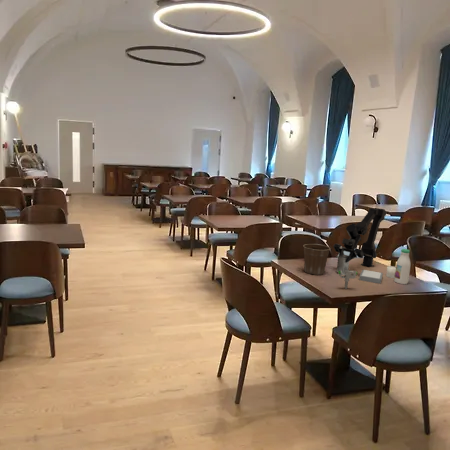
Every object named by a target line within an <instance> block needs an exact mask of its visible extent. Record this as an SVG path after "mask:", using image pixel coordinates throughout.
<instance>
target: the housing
mask: <svg viewBox="0 0 450 450" xmlns="http://www.w3.org/2000/svg"><path fill="white" fill-rule="evenodd" d="M348 256H349V254H345V253H344V254H343V255H340V256H339V255H338V257H337V262H336V263H337V266H336V272H338V271H342V273H344V272H345V270H349V266H350V261H348V262H347V263H346V262H345V261H346V259H347V258H348Z"/></svg>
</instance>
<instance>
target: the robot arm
mask: <svg viewBox="0 0 450 450" xmlns="http://www.w3.org/2000/svg"><path fill="white" fill-rule="evenodd" d="M386 216H387V211H386V210H385V209H384V208H379V207H373V208H372V207H371V208H369V209H368V212H367V213H366V214H365V216H364V217H363V218H362V220H361V221H359V222H358V223H351V224H349V225H347V226H346V232H347V234H348V236H349V238H344V237H343V239H342V242H341V244H343V246H342V245H341V244H339V243H334V244H333V246H332V247H333V249H334V252H337V253H338V257H339V256H340V255H343V254H344V255H345V253H344V252H347V253H349V254H348V258H347V259H346V261H345V262H346V263H347V262H348V261H349V262H350V261H352V260H353V259H355V258H359V259H363V260H362V263H361V264H360V265H362V266H365V267H367V268H371V267H375V265H374V264H373V263H374V259H376V258H377V257H378V254H377V251H376V245H375V242H376V238H377V235H378V232H379V228H380V226H381V225H380V224H381V223H382V222H383V221H384V219H385V217H386ZM370 224H371V226H370V229H369V232H368V226H369V225H370ZM367 232H368V236H367V239H366V241H364V242H363V243H362V246H361V249H360V248H358V244H359V242H360V241H361V242H362V236H365V235H366V234H367Z"/></svg>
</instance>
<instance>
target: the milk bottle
mask: <svg viewBox="0 0 450 450" xmlns="http://www.w3.org/2000/svg"><path fill="white" fill-rule="evenodd" d="M410 252H411V251H410V249H406V248H401V250H400V256H399V258H397V261H396V266H395V267H396V271H395V278H393V280H394V281H393V282H394V283H397V284H399V285H400V284H402V285H407V284H409V278H410V272H411V259H410Z"/></svg>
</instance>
